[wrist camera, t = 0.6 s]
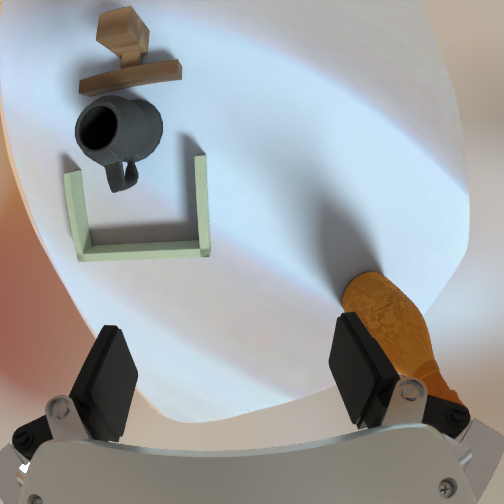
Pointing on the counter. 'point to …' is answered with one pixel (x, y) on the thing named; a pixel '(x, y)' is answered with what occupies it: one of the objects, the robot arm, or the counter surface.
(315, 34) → the counter surface
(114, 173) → the mug
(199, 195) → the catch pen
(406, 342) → the wine bottle
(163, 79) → the wooden cross block
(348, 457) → the robot arm
